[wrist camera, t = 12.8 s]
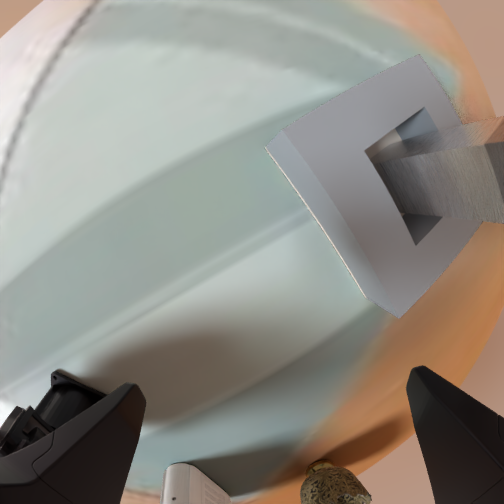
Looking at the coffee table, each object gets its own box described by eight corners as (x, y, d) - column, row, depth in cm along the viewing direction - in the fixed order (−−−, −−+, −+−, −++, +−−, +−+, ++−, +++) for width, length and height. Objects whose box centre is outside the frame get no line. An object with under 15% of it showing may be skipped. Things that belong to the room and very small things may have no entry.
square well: (364, 296, 21) (399, 318, 16) (264, 148, 18) (281, 129, 13) (456, 202, 21) (494, 205, 16) (386, 74, 18) (419, 53, 14)
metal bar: (382, 212, 20) (527, 229, 7) (356, 167, 19) (504, 141, 6) (412, 185, 20) (546, 185, 7) (389, 143, 19) (523, 111, 6)
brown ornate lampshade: (353, 441, 25) (382, 487, 17) (340, 474, 26) (362, 515, 18) (291, 455, 24) (311, 510, 16) (285, 486, 25) (301, 532, 17)
